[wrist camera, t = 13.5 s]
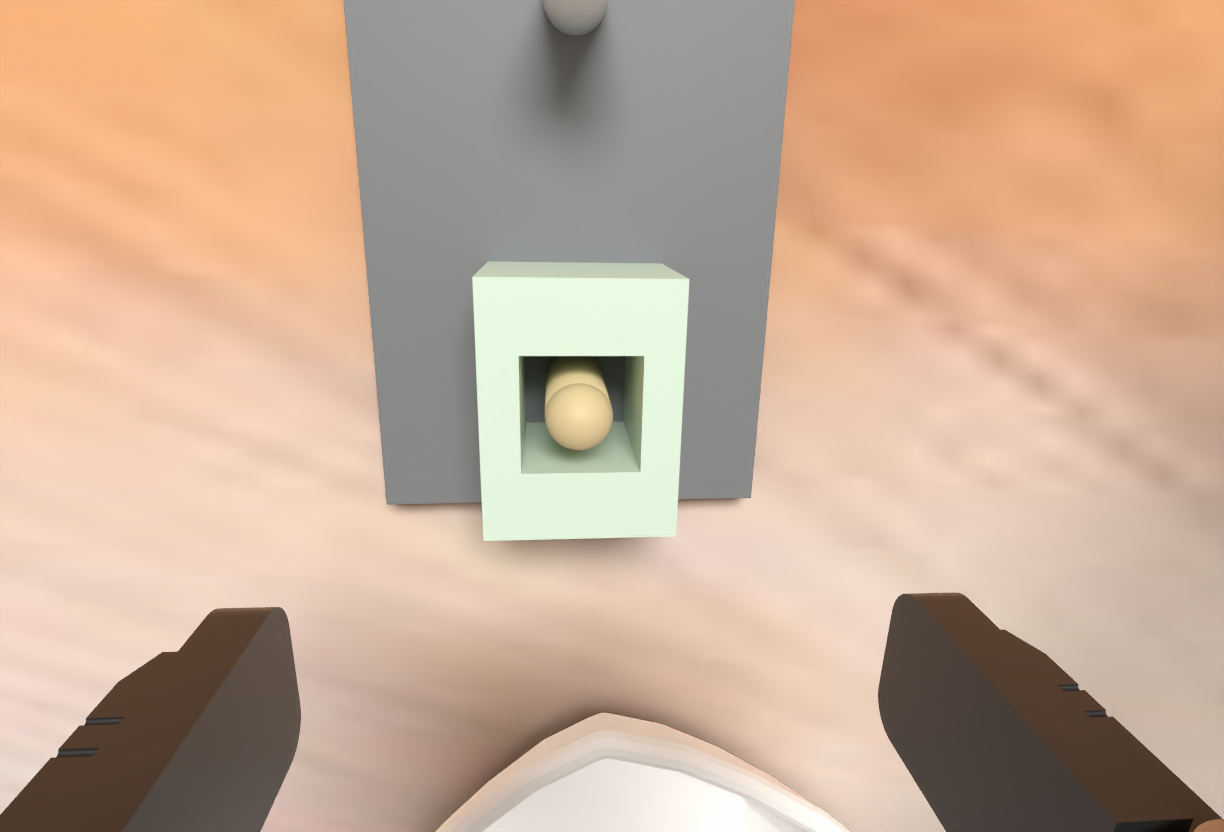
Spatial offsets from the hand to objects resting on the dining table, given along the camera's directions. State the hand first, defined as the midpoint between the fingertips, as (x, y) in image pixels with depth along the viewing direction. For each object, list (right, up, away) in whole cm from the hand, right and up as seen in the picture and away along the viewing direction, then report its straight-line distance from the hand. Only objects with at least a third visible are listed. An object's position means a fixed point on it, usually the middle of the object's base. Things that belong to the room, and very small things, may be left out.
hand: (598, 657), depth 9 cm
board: (-1, +11, +15) cm, 19 cm away
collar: (-1, +5, +16) cm, 17 cm away
